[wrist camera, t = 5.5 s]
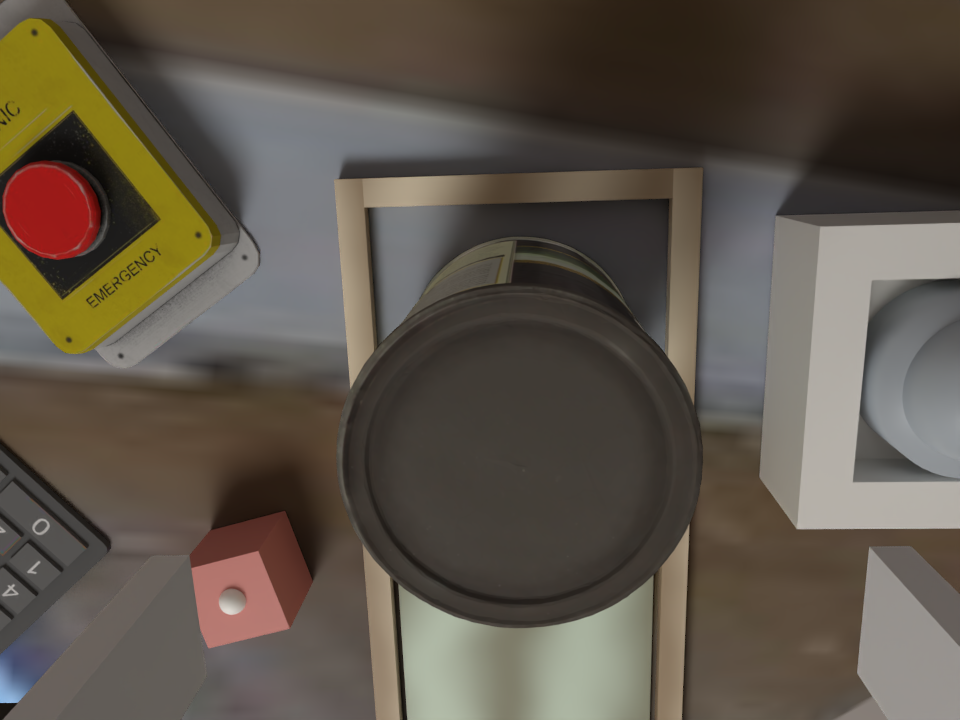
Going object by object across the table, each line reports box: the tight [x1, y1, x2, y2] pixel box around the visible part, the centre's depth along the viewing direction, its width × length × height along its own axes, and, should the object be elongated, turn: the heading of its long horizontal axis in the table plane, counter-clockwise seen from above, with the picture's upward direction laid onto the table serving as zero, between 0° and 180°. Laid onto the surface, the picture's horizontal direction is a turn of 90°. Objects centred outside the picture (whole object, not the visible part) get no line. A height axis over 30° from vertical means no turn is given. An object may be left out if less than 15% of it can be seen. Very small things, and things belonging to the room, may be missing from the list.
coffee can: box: [336, 236, 703, 628], centre depth 29 cm, size 10×10×14 cm
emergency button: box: [0, 0, 260, 369], centre depth 33 cm, size 9×4×15 cm
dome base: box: [759, 210, 960, 529], centre depth 32 cm, size 12×12×5 cm
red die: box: [189, 511, 313, 648], centre depth 37 cm, size 4×4×5 cm
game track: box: [334, 167, 703, 720], centre depth 37 cm, size 15×30×1 cm, turn 2°
